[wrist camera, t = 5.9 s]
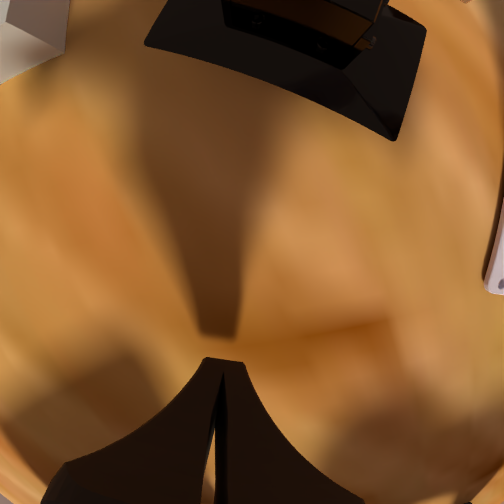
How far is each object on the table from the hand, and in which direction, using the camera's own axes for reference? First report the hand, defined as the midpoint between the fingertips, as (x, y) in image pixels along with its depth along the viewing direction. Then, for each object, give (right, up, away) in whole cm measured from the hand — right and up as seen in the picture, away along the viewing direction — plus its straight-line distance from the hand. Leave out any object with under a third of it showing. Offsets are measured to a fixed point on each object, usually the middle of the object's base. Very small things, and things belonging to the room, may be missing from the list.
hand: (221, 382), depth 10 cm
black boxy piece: (+3, +13, -1) cm, 13 cm away
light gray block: (-8, +14, -2) cm, 16 cm away
